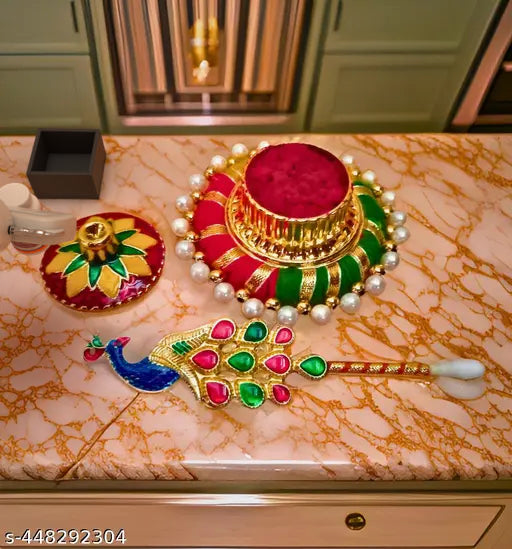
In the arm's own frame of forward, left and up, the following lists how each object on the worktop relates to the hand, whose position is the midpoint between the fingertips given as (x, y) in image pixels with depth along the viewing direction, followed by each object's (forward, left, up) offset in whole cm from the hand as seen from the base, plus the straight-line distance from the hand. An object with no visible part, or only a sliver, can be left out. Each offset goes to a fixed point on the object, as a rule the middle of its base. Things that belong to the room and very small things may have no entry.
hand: (23, 214), depth 86 cm
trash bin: (-2, +28, -23) cm, 37 cm away
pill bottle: (0, -1, -6) cm, 6 cm away
